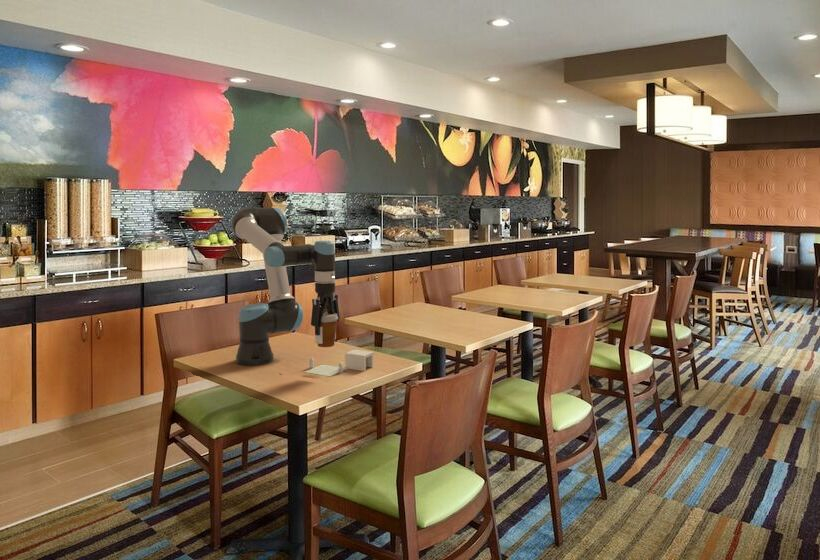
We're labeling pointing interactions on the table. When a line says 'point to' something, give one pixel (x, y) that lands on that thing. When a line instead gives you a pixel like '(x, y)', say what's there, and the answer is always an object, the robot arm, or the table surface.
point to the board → (325, 369)
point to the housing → (358, 360)
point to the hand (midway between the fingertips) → (325, 340)
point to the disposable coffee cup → (328, 329)
